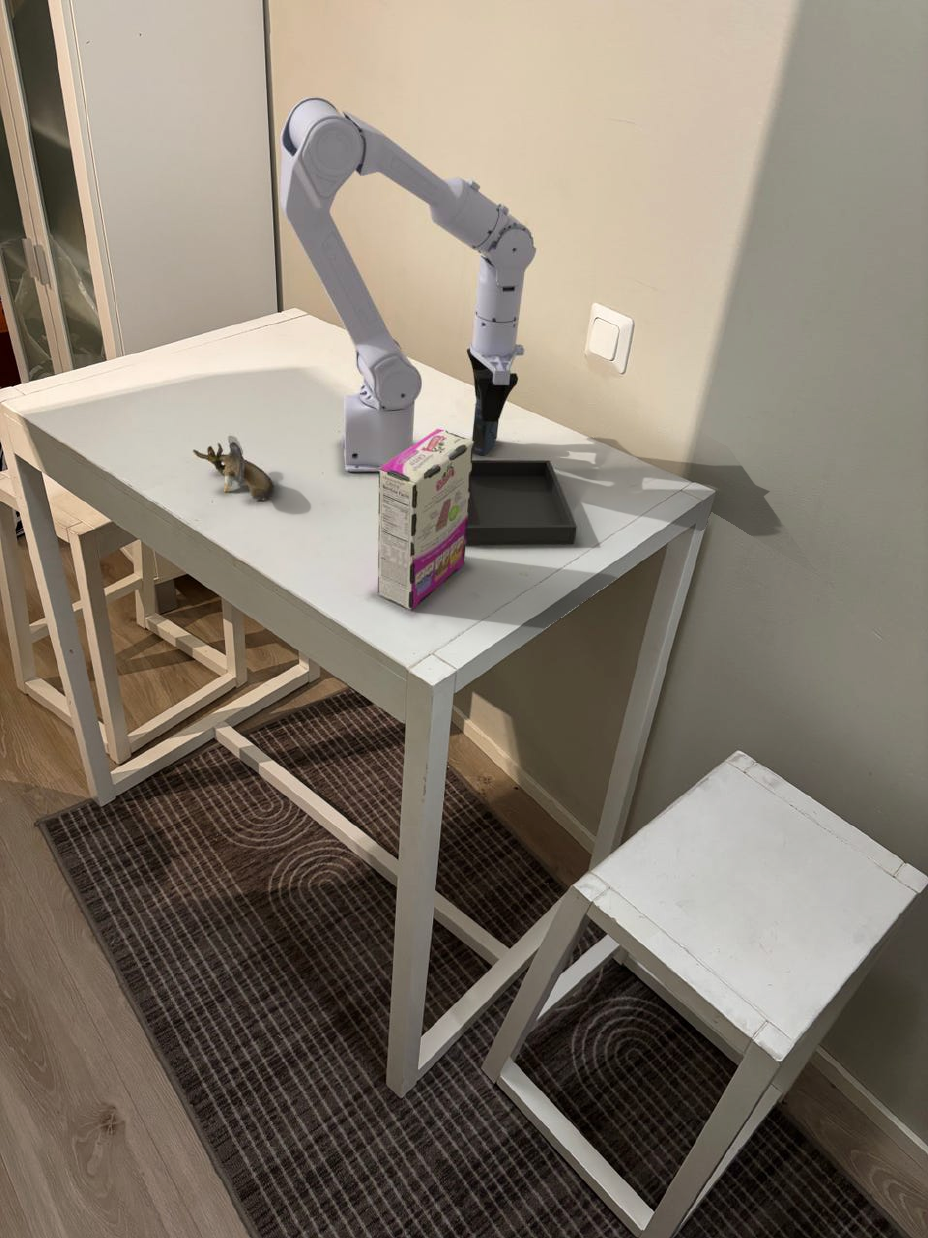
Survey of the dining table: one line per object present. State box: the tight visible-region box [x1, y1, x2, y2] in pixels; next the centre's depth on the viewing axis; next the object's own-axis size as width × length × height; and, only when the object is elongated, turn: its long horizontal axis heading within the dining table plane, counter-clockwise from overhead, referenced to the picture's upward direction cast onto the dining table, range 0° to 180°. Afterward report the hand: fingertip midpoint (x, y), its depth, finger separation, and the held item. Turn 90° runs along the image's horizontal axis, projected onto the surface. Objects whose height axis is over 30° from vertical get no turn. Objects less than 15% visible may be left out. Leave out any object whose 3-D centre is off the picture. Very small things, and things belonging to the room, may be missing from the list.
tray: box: [465, 459, 578, 546], centre depth 122 cm, size 14×16×2 cm
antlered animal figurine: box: [192, 435, 275, 502], centre depth 120 cm, size 8×7×9 cm
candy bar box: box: [377, 428, 474, 611], centre depth 104 cm, size 11×5×16 cm, turn 148°
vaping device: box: [471, 369, 500, 456], centre depth 131 cm, size 3×5×12 cm, turn 158°
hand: (487, 411), depth 132 cm, fingers closed on vaping device, 5 cm apart
